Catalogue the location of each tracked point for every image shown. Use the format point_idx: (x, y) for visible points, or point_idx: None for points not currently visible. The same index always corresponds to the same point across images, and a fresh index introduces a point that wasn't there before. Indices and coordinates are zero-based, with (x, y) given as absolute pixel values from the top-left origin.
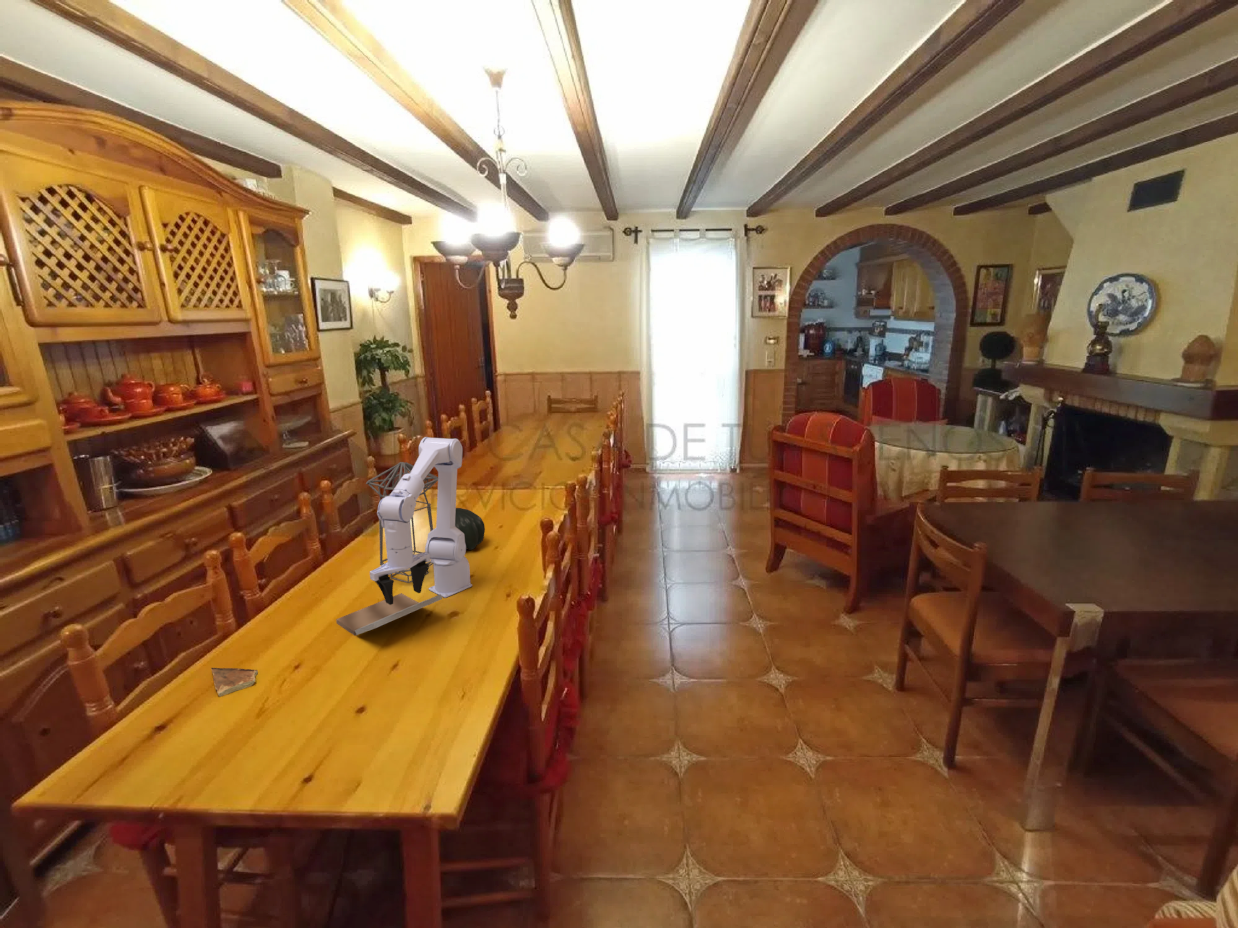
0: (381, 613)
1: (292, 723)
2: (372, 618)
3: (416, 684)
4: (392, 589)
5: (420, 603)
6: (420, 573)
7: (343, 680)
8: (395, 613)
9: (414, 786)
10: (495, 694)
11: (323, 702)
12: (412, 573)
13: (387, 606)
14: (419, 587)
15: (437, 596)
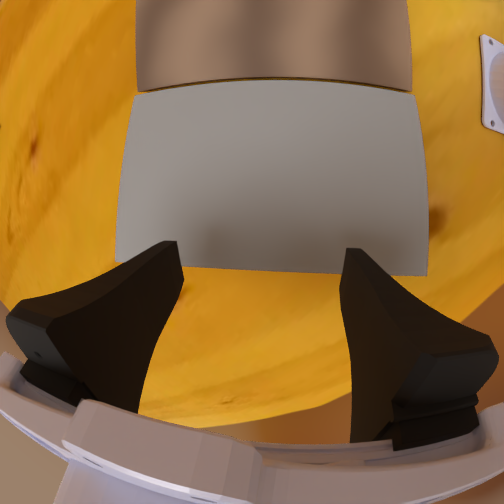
0: (264, 34)
1: (38, 286)
2: (220, 44)
3: (185, 356)
4: (149, 359)
5: (327, 272)
6: (351, 422)
7: (86, 258)
8: (237, 192)
9: (138, 412)
10: (257, 418)
11: (63, 282)
12: (380, 323)
13: (311, 6)
14: (344, 322)
15: (410, 274)
